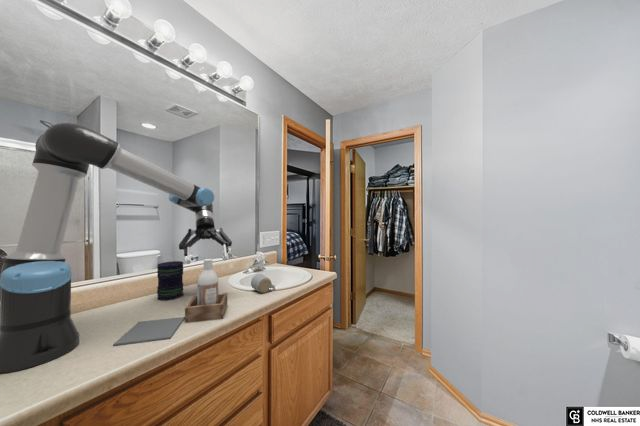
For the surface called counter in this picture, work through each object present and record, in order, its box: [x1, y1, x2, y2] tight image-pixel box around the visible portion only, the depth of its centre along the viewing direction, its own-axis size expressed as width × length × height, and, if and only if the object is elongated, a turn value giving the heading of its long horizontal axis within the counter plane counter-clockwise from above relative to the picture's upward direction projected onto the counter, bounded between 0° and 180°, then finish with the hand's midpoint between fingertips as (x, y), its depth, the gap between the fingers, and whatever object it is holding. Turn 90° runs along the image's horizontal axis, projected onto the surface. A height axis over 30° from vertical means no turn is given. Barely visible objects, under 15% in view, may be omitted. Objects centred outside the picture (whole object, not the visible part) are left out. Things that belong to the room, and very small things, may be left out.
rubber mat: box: [112, 316, 185, 347], centre depth 72 cm, size 14×14×1 cm
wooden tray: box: [184, 292, 228, 324], centre depth 84 cm, size 12×12×5 cm
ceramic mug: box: [250, 273, 276, 294], centre depth 110 cm, size 11×8×8 cm
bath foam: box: [196, 258, 219, 306], centre depth 84 cm, size 7×7×20 cm
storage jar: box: [156, 260, 184, 302], centre depth 102 cm, size 10×10×15 cm
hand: (207, 260), depth 93 cm, fingers open, 13 cm apart
